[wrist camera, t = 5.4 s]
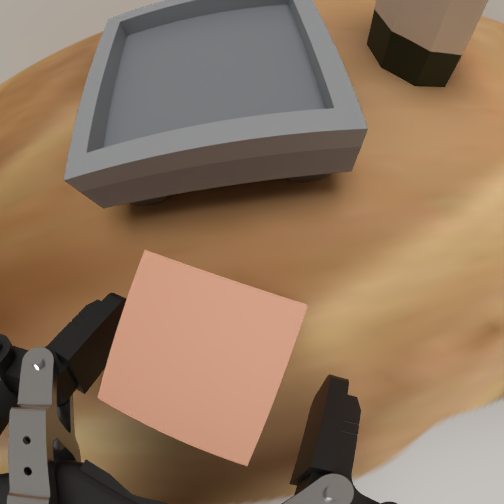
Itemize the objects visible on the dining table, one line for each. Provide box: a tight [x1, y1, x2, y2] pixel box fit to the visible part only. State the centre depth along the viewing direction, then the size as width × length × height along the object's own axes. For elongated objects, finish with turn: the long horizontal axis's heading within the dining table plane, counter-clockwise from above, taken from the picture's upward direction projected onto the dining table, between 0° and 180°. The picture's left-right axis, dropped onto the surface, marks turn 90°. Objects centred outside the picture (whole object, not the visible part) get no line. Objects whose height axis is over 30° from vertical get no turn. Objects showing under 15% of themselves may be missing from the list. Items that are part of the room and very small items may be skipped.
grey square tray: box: [64, 0, 368, 208], centre depth 17 cm, size 14×14×7 cm
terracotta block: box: [97, 250, 308, 466], centre depth 12 cm, size 5×5×10 cm
